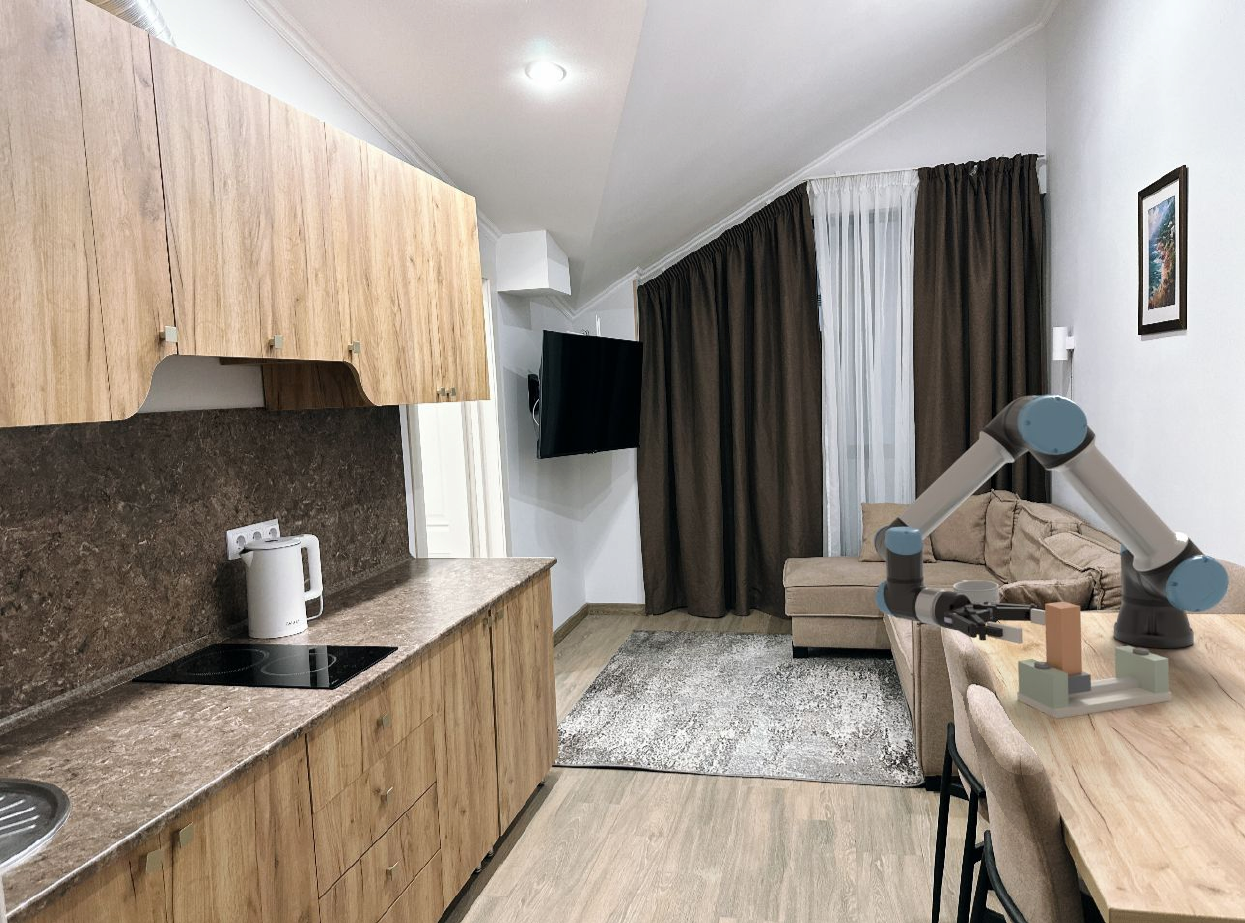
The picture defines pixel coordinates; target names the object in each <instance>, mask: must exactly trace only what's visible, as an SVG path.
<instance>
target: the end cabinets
mask: <svg viewBox="0 0 1245 923" xmlns="http://www.w3.org/2000/svg"><path fill="white" fill-rule="evenodd" d="M1114 657H1115V658H1114V660H1115V661H1114V664H1115V668H1114V669H1115V677H1116V678H1122V677H1128V676H1131V677H1134V678H1136V679H1139V688H1142V689H1144V690H1147V691H1150V692H1152V693H1162V692H1168V691H1169V692H1170V680H1169V678H1170V676H1169V671H1170V670H1169V666H1170V665H1169V658H1168V657H1164V656H1162V655H1159V654H1155V653H1152V652H1150V650H1149V649H1147V648H1146V647H1144V648H1143V647H1134V646H1131V645H1125V646H1115V647H1114ZM1017 663H1018V664H1017V666H1018V669H1017V670H1018V692H1019V693H1021V694H1023V695H1025V696H1027V697H1029V698H1031V699H1033V700H1035V701H1037V702H1040V703H1042V704H1044V705H1046V706H1048V707H1050V708H1052V709H1059V708H1065V707H1069V702H1068V673H1066V672H1063V671H1061V670H1058V669H1056V668H1053V667H1051V666H1050V663H1047V661H1038V660H1035V659H1033V658H1032V659H1031V658H1030V659H1023V660H1018V662H1017Z"/></svg>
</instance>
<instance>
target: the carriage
mask: <svg viewBox="0 0 1245 923" xmlns="http://www.w3.org/2000/svg"><path fill="white" fill-rule="evenodd" d="M1044 611H1045V621H1046V626H1045V653H1046V656H1045V657H1046V662H1047V663H1050V666H1051V667H1053V668H1056V669H1058V670H1061V671H1063V672H1066V673H1068V694H1075V693H1081V692H1088V691H1091V681H1092V677H1091V676H1092V675H1091V673H1088V672H1086V671H1083V669H1082V668H1083V663H1082V662H1083V661H1082V626H1081V625H1082V624H1081V623H1082V622H1081V621H1082V620H1081V616H1082V615H1081V605H1077V604H1074V603H1071V602H1067V601H1058V602H1057V601H1056V602H1049V603H1045V604H1044Z"/></svg>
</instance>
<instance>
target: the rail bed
mask: <svg viewBox="0 0 1245 923" xmlns="http://www.w3.org/2000/svg"><path fill="white" fill-rule="evenodd" d="M1016 694H1017V701H1019V700H1020V701H1019V702H1021V701H1022V702H1021V703H1023V702H1024V703H1023V704H1025V703H1026V704H1025V705H1027V704H1028V705H1027V706H1029V705H1030V706H1029V707H1031V706H1032V708H1033V707H1034V708H1033V709H1035V708H1036V710H1037V709H1039V710H1040V712H1041V711H1042V713H1043V712H1044V714H1046V715H1048V716H1049V717H1052V718H1053V719H1056V720H1057V719H1064V718H1067V717H1074V716H1075V717H1076V716H1080V715H1081V716H1082V715H1087V714H1094V713H1100V712H1101V713H1102V712H1106V711H1113V710H1119V708H1120V709H1125V708H1131V707H1132V706H1133V707H1138V706H1143V705H1144V706H1145V705H1150V704H1158V703H1164V702H1169V701H1172V692H1171V691H1170V690H1169V691H1168V692H1162V693H1152V692H1150V691H1147V690H1144V689H1142V688H1139V679H1136V678H1134V677H1131V676H1128V677H1122V678H1116V676H1114V677H1109V678H1102V679H1096V680H1091V691H1088V692H1081V693H1075V694H1068V702H1069V707H1065V708H1059V709H1052V708H1050V707H1048V706H1046V705H1044V704H1042V703H1040V702H1037V701H1035V700H1033V699H1031V698H1029V697H1027V696H1025V695H1023V694H1021V693H1019V691H1017V693H1016ZM1133 707H1132V708H1133ZM1039 710H1038V711H1039Z"/></svg>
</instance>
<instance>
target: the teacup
mask: <svg viewBox="0 0 1245 923" xmlns="http://www.w3.org/2000/svg"><path fill="white" fill-rule="evenodd" d="M952 588H953V592H957V593H962V594H965V595H966V596H967V597H968V598H969V600H970V602H971V603H972V604H973V603H981V604H984V602H986V601H988V602H994V603H1000V591H999V584H998V583H997V582H995V581H990V580H979V579H978V580H976V579H975V580H968V579H962V580H961V581H959V582H956V583H954V584H953V585H952Z"/></svg>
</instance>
